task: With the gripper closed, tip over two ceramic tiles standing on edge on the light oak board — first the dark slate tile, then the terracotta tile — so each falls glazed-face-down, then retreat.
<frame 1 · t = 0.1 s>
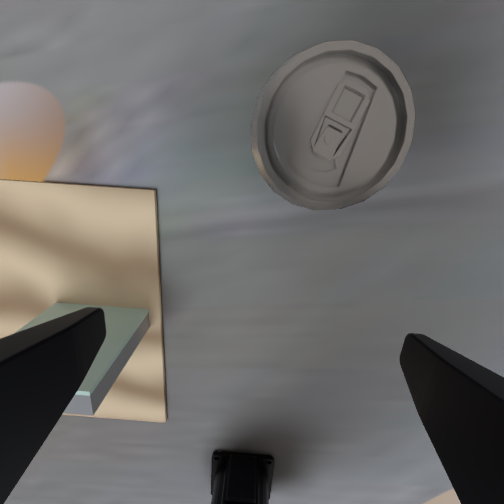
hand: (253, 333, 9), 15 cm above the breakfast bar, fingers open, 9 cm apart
guarana soda can: (294, 141, 21), on the breakfast bar
slate tile: (103, 314, 25), resting on oak board
oak board: (44, 312, 26), on the breakfast bar
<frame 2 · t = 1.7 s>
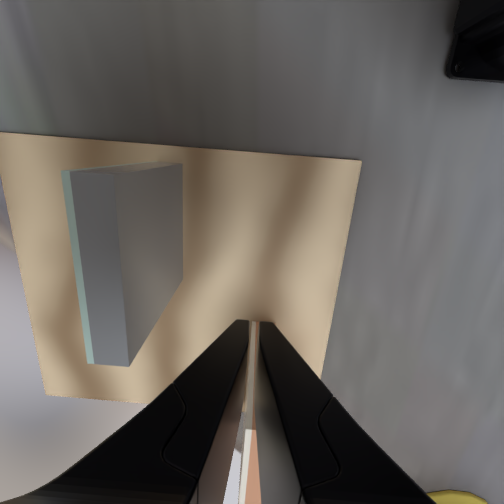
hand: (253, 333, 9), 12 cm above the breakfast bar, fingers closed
slate tile: (169, 224, 20), resting on oak board
terracotta tile: (259, 365, 23), resting on oak board
oak board: (179, 294, 22), on the breakfast bar
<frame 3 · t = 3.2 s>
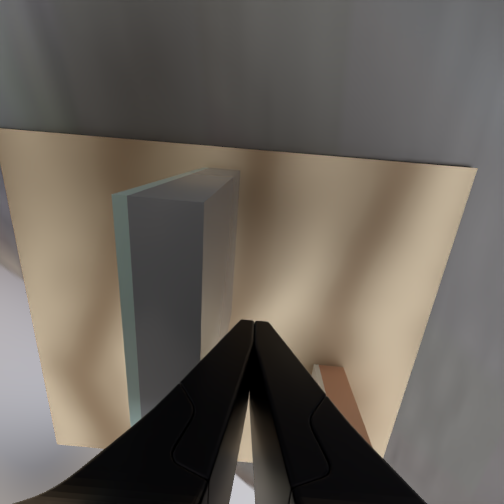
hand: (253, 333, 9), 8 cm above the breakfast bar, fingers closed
slate tile: (218, 246, 15), resting on oak board, touching gripper
terracotta tile: (318, 415, 19), resting on oak board
oak board: (224, 331, 18), on the breakfast bar
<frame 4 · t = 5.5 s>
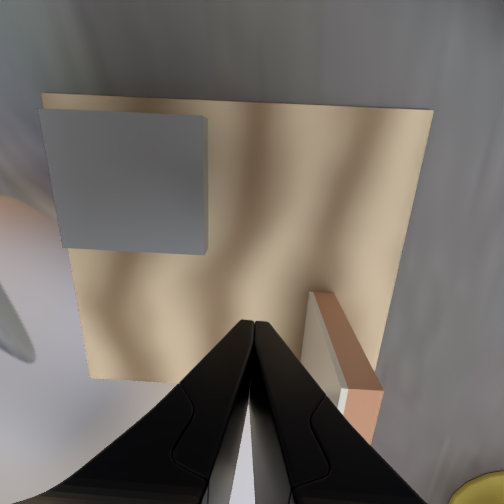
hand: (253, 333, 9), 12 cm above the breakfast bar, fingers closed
candle: (498, 503, 28), on the breakfast bar
slate tile: (206, 189, 18), point 1 cm above the breakfast bar, tilted 90°, touching oak board
terracotta tile: (315, 339, 22), resting on oak board
oak board: (231, 265, 21), on the breakfast bar
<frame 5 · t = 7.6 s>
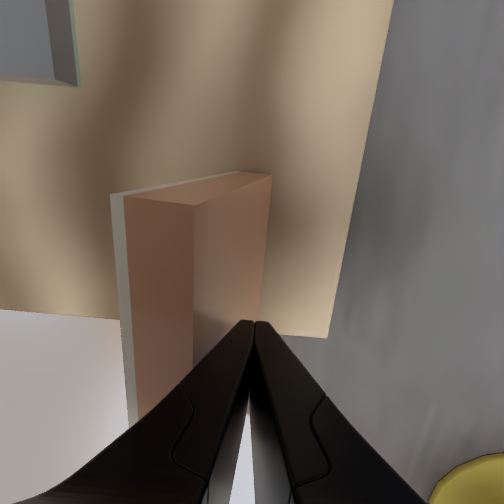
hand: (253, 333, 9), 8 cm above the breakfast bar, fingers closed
candle: (496, 496, 22), on the breakfast bar
terracotta tile: (247, 251, 15), point 1 cm above the breakfast bar, tilted 11°, touching gripper, oak board
oak board: (122, 128, 14), on the breakfast bar
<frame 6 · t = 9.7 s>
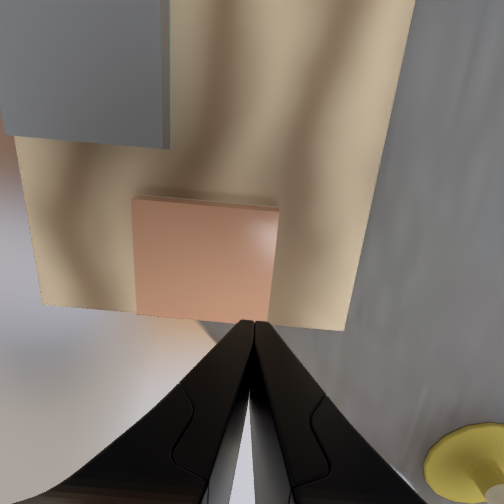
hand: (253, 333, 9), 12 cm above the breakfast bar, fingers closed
candle: (477, 461, 27), on the breakfast bar
slate tile: (166, 72, 16), point 1 cm above the breakfast bar, tilted 90°, touching oak board
terracotta tile: (272, 267, 20), point 1 cm above the breakfast bar, tilted 90°, touching oak board
oak board: (197, 175, 19), on the breakfast bar
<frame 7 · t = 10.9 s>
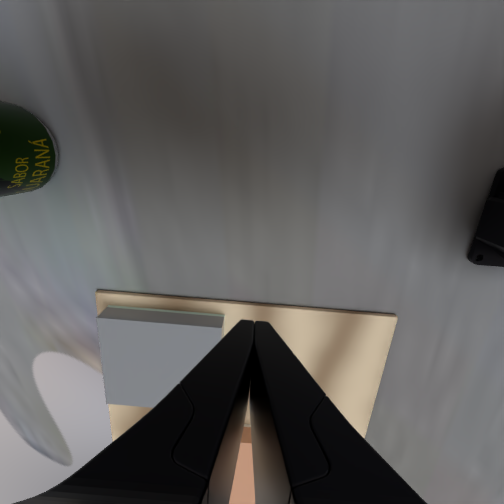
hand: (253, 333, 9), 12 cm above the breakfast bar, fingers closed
guarana soda can: (25, 149, 19), on the breakfast bar
slate tile: (221, 365, 23), point 1 cm above the breakfast bar, tilted 90°, touching oak board
terracotta tile: (293, 469, 26), point 1 cm above the breakfast bar, tilted 90°, touching oak board
oak board: (238, 406, 26), on the breakfast bar
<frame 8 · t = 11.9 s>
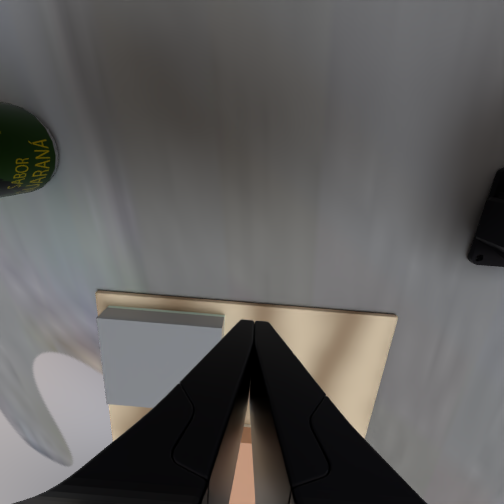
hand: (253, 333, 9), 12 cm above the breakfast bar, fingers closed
guarana soda can: (25, 149, 19), on the breakfast bar
slate tile: (221, 365, 23), point 1 cm above the breakfast bar, tilted 90°, touching oak board
terracotta tile: (293, 469, 26), point 1 cm above the breakfast bar, tilted 90°, touching oak board
oak board: (238, 406, 26), on the breakfast bar
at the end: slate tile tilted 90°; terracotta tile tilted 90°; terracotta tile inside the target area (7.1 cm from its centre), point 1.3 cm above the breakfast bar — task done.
